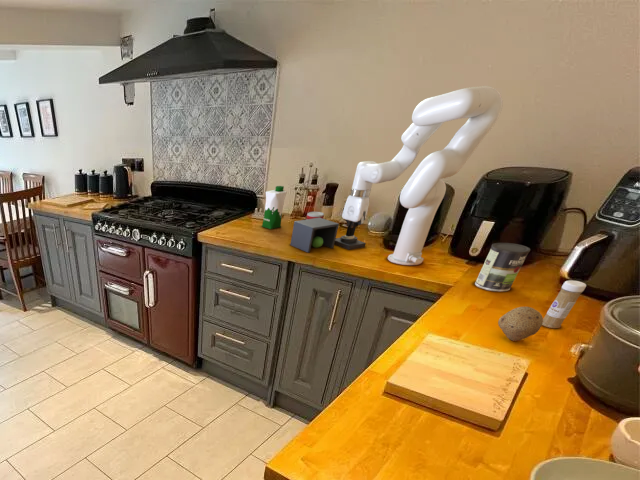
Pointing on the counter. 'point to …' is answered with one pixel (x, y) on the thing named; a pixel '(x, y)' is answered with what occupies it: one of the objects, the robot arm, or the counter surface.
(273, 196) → the milk carton
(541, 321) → the potato
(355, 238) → the button housing
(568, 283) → the sprinkles bottle
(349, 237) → the button
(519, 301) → the counter surface
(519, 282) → the counter surface
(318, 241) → the ball
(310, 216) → the canned food
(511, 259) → the coffee can
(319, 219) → the cubby
